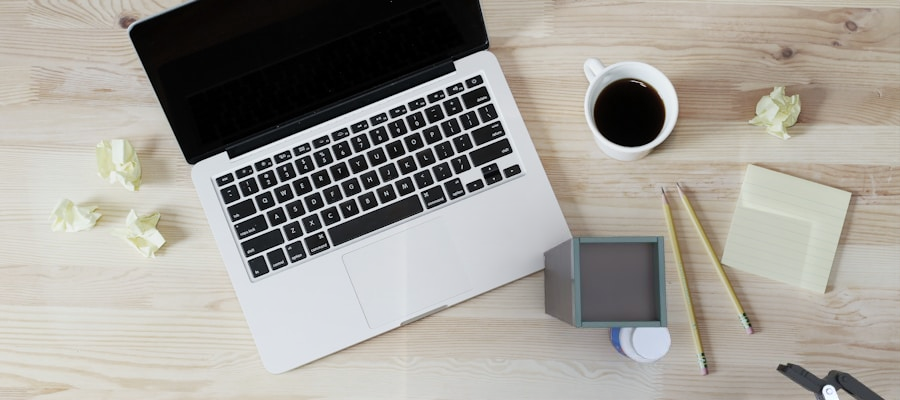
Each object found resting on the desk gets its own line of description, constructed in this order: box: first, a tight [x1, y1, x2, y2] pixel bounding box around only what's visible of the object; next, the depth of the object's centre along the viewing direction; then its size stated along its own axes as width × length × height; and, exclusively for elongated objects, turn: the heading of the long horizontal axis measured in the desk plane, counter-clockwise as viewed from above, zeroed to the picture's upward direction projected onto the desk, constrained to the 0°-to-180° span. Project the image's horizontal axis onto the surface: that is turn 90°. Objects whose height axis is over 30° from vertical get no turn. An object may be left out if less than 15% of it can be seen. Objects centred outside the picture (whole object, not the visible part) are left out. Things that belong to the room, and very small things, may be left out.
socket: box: [570, 235, 668, 329], centre depth 60 cm, size 7×7×2 cm
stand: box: [543, 238, 655, 327], centre depth 74 cm, size 7×7×27 cm
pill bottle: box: [608, 326, 672, 364], centre depth 82 cm, size 6×5×10 cm
